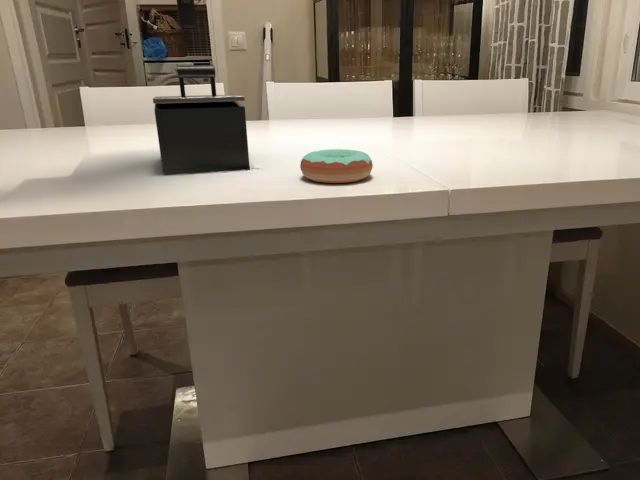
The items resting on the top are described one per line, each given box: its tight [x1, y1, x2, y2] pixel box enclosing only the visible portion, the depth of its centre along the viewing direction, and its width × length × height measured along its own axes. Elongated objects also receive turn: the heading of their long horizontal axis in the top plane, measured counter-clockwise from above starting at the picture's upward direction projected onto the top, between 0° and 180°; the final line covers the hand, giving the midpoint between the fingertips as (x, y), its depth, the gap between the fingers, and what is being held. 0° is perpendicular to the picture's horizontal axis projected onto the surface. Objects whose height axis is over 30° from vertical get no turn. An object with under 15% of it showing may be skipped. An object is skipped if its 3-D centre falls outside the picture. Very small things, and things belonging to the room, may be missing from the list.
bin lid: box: [152, 64, 246, 105], centre depth 98 cm, size 18×15×6 cm
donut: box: [299, 148, 374, 184], centre depth 92 cm, size 12×12×4 cm
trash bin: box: [153, 101, 251, 176], centre depth 102 cm, size 17×15×11 cm
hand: (187, 25), depth 94 cm, fingers closed
